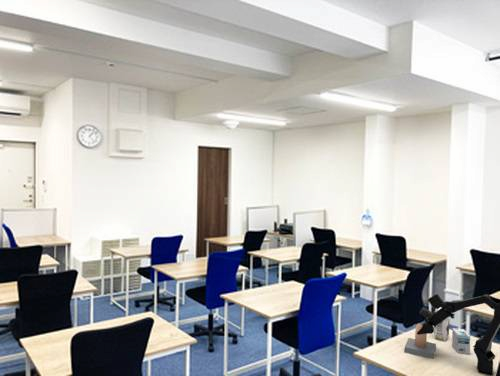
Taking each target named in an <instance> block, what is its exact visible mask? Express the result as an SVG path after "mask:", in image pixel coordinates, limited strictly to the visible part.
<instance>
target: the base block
mask: <svg viewBox="0 0 500 376" xmlns="http://www.w3.org/2000/svg"><path fill="white" fill-rule="evenodd" d="M436 350H437V343H435V342H434V343H433V342H429V341H426V347H425V348H420V347H417V346H416V345H415V338H412V337H408V338H407V341H406V342H405V345H404V353H406V354H410V355H415V356H419V357H422V358H428V359H431V360H434V358H435V354H436Z"/></svg>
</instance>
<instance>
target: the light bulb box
mask: <svg viewBox="0 0 500 376" xmlns="http://www.w3.org/2000/svg"><path fill="white" fill-rule="evenodd" d="M451 335H452V337H451V338H452V339H451V340H452V341H451V346H452V347H453V349H454V350H455V352H456V353H457V354H464V355H470V354H471V335H470V333H468V332H467V331H466V329H463V328H455V327H452V333H451Z"/></svg>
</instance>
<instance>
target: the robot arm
mask: <svg viewBox="0 0 500 376" xmlns="http://www.w3.org/2000/svg"><path fill="white" fill-rule="evenodd" d="M427 302H428V303H429V304H430V306H431V307H432V308H433V309H439V308H441V307H442V308H441V309H439V310H438V311H437V312H435V311H433V312H432V311H431V310H429V309H427V308H426V307H425V306H424V307H423V306H422V308H421V310H420V311H419V315H422V316H424V320H423V322H422V323H421V324H420V325H422V328H421V329H420V330H419V331H418V332H417V334H418V335H419V334H427V335H428V334H429V335H430V334H434V327H436V326H437V325H438V324H440V323H442V322H443V321H444V320H445V319H447V318H448V317H450V319H452V320H454V319H455V316H456V315H455V314H456V312H459V311H461V310H463V309H466V308H470V307H475V306H479V305H482V304H485V305H487V306H488V307H489V308H490V309H492V310H494V311H493V317H492V319H491V321H490V323H489V324H488V327H487V329H486V331H485V333H484V334H483V336H482V337H480V338H478V339H476V340H475V343H474V345H473V346H472V347H473V352H474V354H475V356H476V359H477V361H476V362H477V364H476V365H477V366H476V369H477V371H478V372H477V373H480V374H484V375H489V376H492V375H493V376H494V360H495V359H496V355H495V354H494V352H493V350H492V346H493V341H494V338H495V336H496V335H497V333H498V331H499V329H500V298H497V297H494V296H492V295H490V294H483V295H479V296H477V297H473V298H468V299H456V300H455V299H454V300H451V301H447V300H446V301H444V300H443V299H442V298H441V297H440V295H439V293H437V294H434V295H432V296H430V297H429V298H428V299H427Z"/></svg>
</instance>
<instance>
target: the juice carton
mask: <svg viewBox="0 0 500 376" xmlns="http://www.w3.org/2000/svg"><path fill="white" fill-rule="evenodd" d="M441 308H442V307H441ZM441 308H439V309H441ZM439 309H435V310H434V312H437V311H438V310H439ZM450 319H451V317H448V318H447V319H445V320H444V321H443V322H442V323H440V324H438V325H437V326H436V327H434V326H433V327H434V332H433V336H434V337H433V338H434V339H435V340H439V341H442V342H446V341H447V340H448V339H449V335H450Z"/></svg>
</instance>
